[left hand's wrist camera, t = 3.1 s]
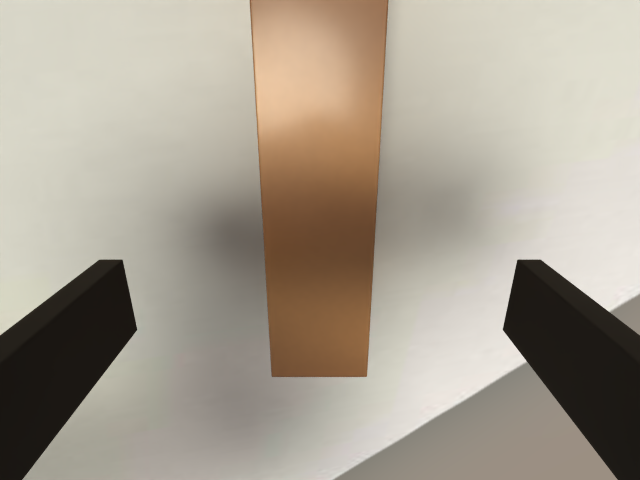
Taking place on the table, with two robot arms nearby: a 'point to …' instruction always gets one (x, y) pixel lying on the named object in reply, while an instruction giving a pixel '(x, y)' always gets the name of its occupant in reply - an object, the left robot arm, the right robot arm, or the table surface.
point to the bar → (319, 176)
